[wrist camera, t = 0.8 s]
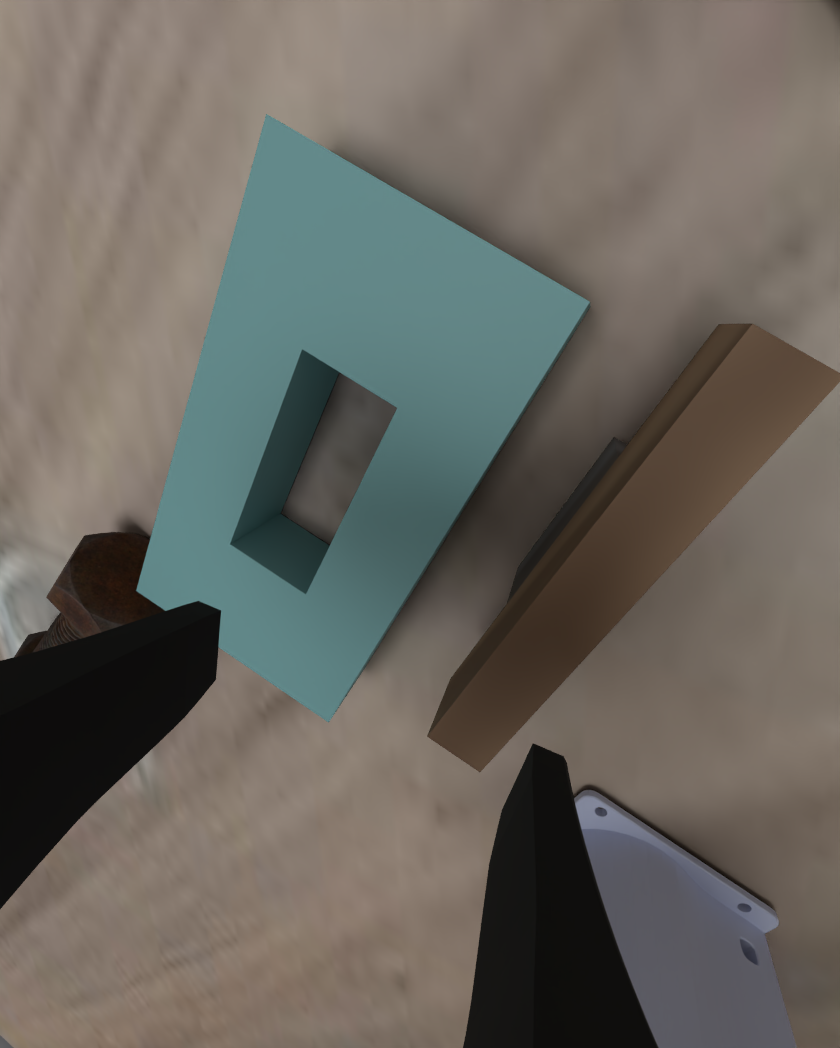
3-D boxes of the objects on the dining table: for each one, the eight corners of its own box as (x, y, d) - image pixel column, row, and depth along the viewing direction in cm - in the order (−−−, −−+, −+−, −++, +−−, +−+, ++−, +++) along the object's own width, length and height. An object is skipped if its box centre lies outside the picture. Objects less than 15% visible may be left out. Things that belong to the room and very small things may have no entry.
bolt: (81, 656, 34) (181, 534, 27) (93, 730, 32) (205, 621, 25) (-34, 671, 29) (49, 529, 22) (-28, 758, 27) (66, 635, 20)
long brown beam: (755, 358, 15) (845, 375, 10) (507, 661, 21) (479, 772, 16) (697, 324, 15) (752, 323, 10) (467, 635, 22) (427, 736, 16)
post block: (590, 306, 16) (589, 301, 13) (362, 671, 24) (328, 722, 21) (327, 153, 17) (266, 113, 14) (193, 557, 25) (136, 590, 22)
